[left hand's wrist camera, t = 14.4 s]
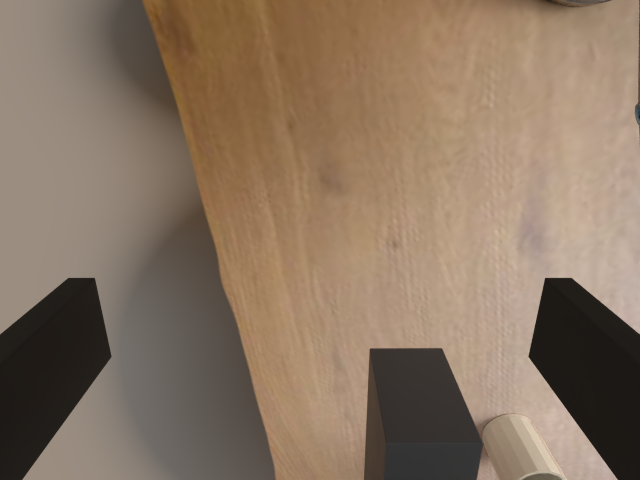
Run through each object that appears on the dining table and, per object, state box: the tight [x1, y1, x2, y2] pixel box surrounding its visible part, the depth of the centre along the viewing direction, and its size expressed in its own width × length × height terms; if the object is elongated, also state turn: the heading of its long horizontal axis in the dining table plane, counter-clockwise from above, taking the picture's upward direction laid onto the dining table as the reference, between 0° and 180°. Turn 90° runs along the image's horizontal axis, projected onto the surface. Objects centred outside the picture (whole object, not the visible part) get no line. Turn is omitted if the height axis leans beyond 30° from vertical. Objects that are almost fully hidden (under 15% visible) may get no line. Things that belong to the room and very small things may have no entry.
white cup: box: [482, 414, 567, 480], centre depth 56 cm, size 7×7×9 cm
